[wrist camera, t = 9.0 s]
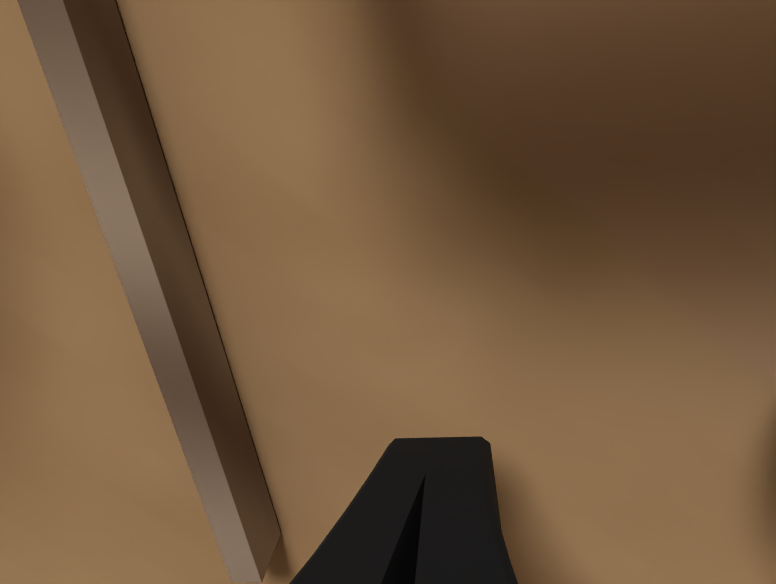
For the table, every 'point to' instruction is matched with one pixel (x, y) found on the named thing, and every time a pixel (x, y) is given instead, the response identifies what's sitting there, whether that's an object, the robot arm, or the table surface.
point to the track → (156, 266)
